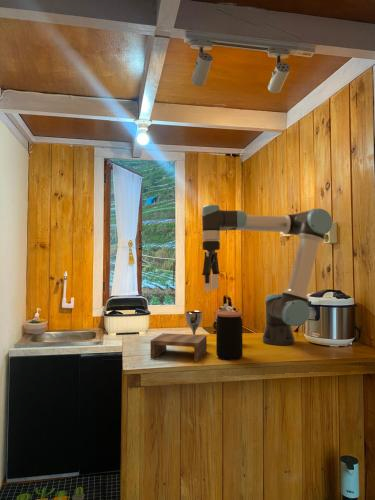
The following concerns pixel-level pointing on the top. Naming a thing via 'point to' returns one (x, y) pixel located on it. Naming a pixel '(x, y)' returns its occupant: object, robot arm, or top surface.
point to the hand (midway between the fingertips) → (211, 290)
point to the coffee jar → (229, 335)
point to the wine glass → (193, 319)
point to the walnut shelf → (179, 343)
